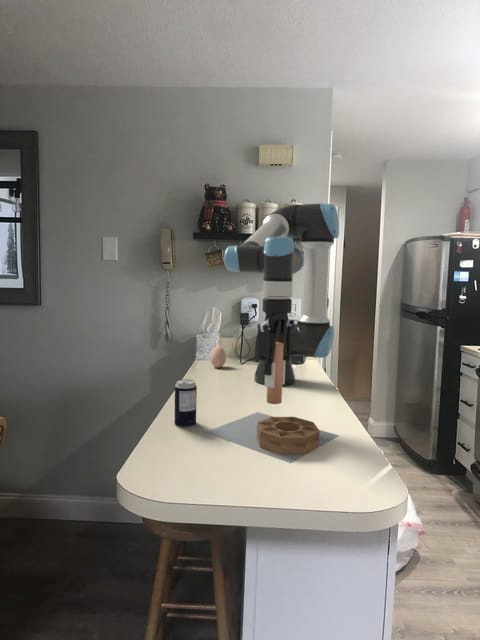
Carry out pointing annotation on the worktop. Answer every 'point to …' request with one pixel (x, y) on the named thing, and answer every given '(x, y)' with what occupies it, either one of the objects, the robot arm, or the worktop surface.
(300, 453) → the bead
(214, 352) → the egg
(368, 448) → the worktop surface
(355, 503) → the worktop surface
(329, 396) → the worktop surface
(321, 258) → the robot arm
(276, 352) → the tan round-topped peg
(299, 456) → the mat
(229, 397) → the worktop surface
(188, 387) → the beverage can
